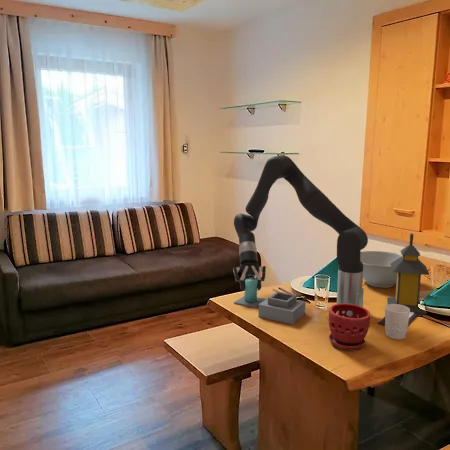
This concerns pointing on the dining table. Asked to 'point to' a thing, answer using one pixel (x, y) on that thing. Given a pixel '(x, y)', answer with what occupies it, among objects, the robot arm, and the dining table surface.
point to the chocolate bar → (411, 318)
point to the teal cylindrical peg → (251, 290)
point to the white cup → (396, 321)
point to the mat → (248, 304)
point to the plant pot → (348, 326)
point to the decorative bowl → (379, 268)
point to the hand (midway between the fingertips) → (251, 289)
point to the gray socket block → (282, 308)
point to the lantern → (408, 278)
